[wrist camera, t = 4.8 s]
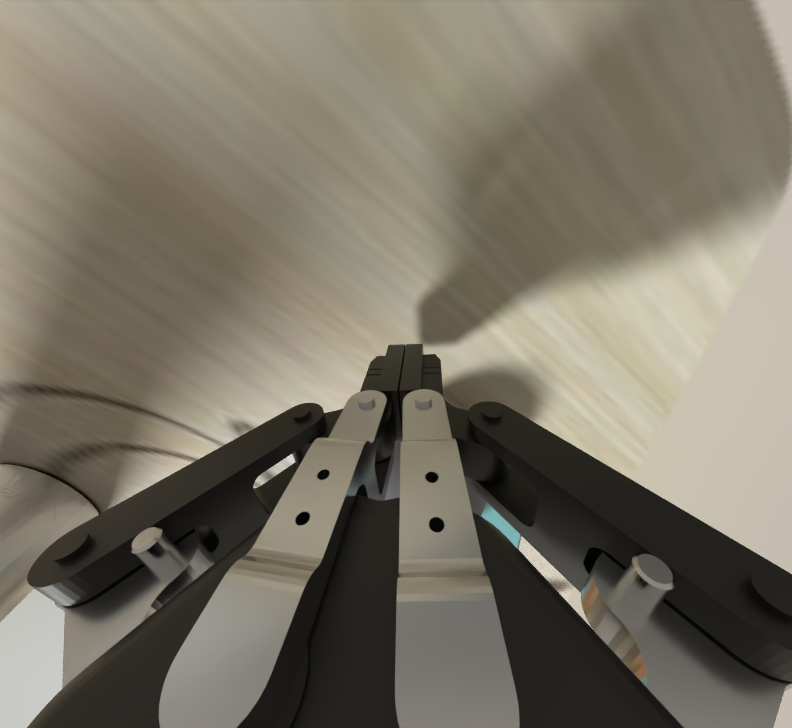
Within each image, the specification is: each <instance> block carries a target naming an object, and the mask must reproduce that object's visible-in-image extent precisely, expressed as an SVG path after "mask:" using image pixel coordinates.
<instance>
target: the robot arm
mask: <svg viewBox="0 0 792 728" xmlns="http://www.w3.org/2000/svg"><path fill="white" fill-rule="evenodd" d="M395 441H401V450H400V497H399V498H394V499H389V500H385V497H386V492H387V488H388V483H389V479H390V475H391V470H392V466H393V461H394V448H395ZM290 454H293V456H294V459H295V463H294V464H292V465H291V466H289V467H288V468H287V469H285V470H284V471H282V472H281V473H279V474H278V475H276V476H275V477H273V478H272V479H271V480H269V481H268V482H266V483H265V484H263V485H262V486H260V487H258V488H254V489H253V484H254V482H255V480H256V478H257V477H258V476H259V475H260V474H262V473H263V472H265V471H266V470H268V469H269V468H271V467H272V466H274V465H275V464H277V463H278V462H280V461H281V460H283V459H284V458H286V457H287V456H289V455H290ZM464 476H465V477H466V480H467V482H468V484H469V485H470V486H471V487H472V488H473V489H474V490H475V491H476V492H477V493H478V494H479V495H480V496H481V497H482V498H483V499H484V500H485V501H486V502H487V503H488V504H489V505H490V506H491V507H492V508H493V509H494V510H495V511H496V512H497V513H499V514H500V515H501V516H502V517H503V518H504V519H505V520H506V521H507V522H508V523H509V524H510V525H511V526H512V527H513V528H514V529H515V530H516V531H517V532H518V533H519V534H520V535H521V536H522V537H523V538H524V539H526V540H527V541H528V542H529V543H530V544H531V545H532V546H533V547H534V548H535V549H536V550H537V551H538V552H539V553H540V554H541V555H542V556H543V557H544V558H545V559H546V560H547V561H548V562H549V563H550V564H551V565H553V566H554V567H555V568H556V569H557V570H558V571H559V572H560V573H561V574H562V575H563V576H564V577H565V578H566V579H567V580H568V581H569V582H570V583H571V584H572V585H573V586H574V587H575V588H576V589H578V590H579V591H580V592H581V602H582V607H583V611H584V613H585V615H586V618H587V620H588V622H589V624H590V625H591V627H592V628H593V629H592V628H591V627H590V626H589V625H588V624H587V623H586V622H585V621H584V620H583V619H582V617H581V616H579V614H578V613H577V612H576V611H575V610H574V609H573V608H572V607H571V606H570V605H569V604H568V602H567V601H566V600H565V599H564V598H563V597H562V596H561V595H560V594H559V593H558V592H557V591H556V590H555V588H554V587H553V586H552V585H551V584H550V583H549V582H548V581H547V580H546V579H545V578H544V577H543V576H542V575H541V573H540V572H539V571H538V570H537V569H536V568H535V567H534V566H533V565H532V564H531V563H530V562H529V561H528V559H527V558H526V557H525V556H524V555H523V554H522V553H521V552H520V551H519V550H518V549H517V548H516V547H515V546H514V544H513V543H512V542H511V541H510V540H509V539H508V538H507V537H506V536H505V535H504V534H503V533H502V532H501V531H500V530H499V529H497V528H496V527H495V526H494V525H493V524H491V523H490V522H489V521H487V520H486V519H484V518H483V517H481V516H479V515H477V514H475V513H473V512H472V509H471V505H470V500H469V496H468V491H467V487H466V482H465V478H464ZM34 588H35V589H36V590H38V591H39V592H41V593H42V594H44V595H45V596H47V597H48V598H50V599H51V600H53V601H54V602H55V605H56V606H57V607H59V608H60V609H62V610H63V611H64V612H65V625H64V656H63V657H64V659H63V688H62V690H61V691H60V692H59V693H58V694H57V695H56V696H55V697H54V698H53V699H52V700H51V701H50V702H49V703H48V704H47V705H46V707H44V709H43V710H42V711H41V712H40V713H39V714H38V715H37V716H36V718H35V719H34V720H33V721H32V722H31V724H30V725H29V726H28V727H27V728H773V726H774V723H775V720H776V716H777V713H778V710H779V707H780V703H781V700H782V696H783V693H784V691H786V690H788V689H790V688H792V574H790V573H789V572H787V571H785V570H784V569H782V568H780V567H779V566H777V565H775V564H773V563H772V562H770V561H768V560H767V559H765V558H763V557H762V556H760V555H758V554H756V553H755V552H753V551H751V550H750V549H748V548H746V547H745V546H743V545H741V544H739V543H738V542H736V541H734V540H733V539H731V538H729V537H728V536H726V535H724V534H723V533H721V532H719V531H717V530H716V529H714V528H712V527H711V526H709V525H707V524H706V523H704V522H702V521H701V520H699V519H697V518H695V517H694V516H692V515H690V514H689V513H687V512H685V511H684V510H682V509H680V508H678V507H677V506H675V505H673V504H672V503H670V502H668V501H667V500H665V499H663V498H661V497H660V496H658V495H656V494H655V493H653V492H651V491H650V490H648V489H646V488H644V487H643V486H641V485H639V484H638V483H636V482H634V481H633V480H631V479H629V478H628V477H626V476H624V475H622V474H621V473H619V472H617V471H616V470H614V469H612V468H611V467H609V466H607V465H605V464H604V463H602V462H600V461H599V460H597V459H595V458H594V457H592V456H590V455H589V454H587V453H585V452H583V451H582V450H580V449H578V448H577V447H575V446H573V445H572V444H570V443H568V442H566V441H565V440H563V439H561V438H560V437H558V436H556V435H555V434H553V433H551V432H549V431H548V430H546V429H544V428H543V427H541V426H539V425H538V424H536V423H534V422H533V421H531V420H529V419H527V418H526V417H524V416H522V415H521V414H519V413H517V412H516V411H514V410H512V409H510V408H509V407H507V406H505V405H503V404H500V403H497V402H480V403H477V404H475V405H473V406H472V407H471V408H470V409H469V411H467V410H462V409H459V408H456V407H453V406H451V405H450V404H448V403H447V402H446V401H445V399H444V397H443V388H442V375H441V361H440V359H439V358H438V357H437V356H436V355H435V354H429V355H423V344H406V345H389V346H388V349H387V353H386V356H377V357H376V358H375V359H374V360H373V361H371V363H370V365H369V368H368V371H367V374H366V377H365V379H364V382H363V385H362V388H361V391H360V392H358V393H356V394H354V395H353V396H351V397H350V398H349V400H348V401H347V403H346V405H345V407H344V408H343V409H341V410H337V411H332V412H328V413H324V411H323V408H322V407H321V406H320V405H318V404H315V403H304V404H300V405H297V406H295V407H293V408H291V409H289V410H287V411H285V412H284V413H282V414H280V415H278V416H276V417H275V418H273V419H271V420H269V421H267V422H265V423H264V424H262V425H260V426H258V427H256V428H255V429H253V430H251V431H249V432H247V433H246V434H244V435H242V436H240V437H238V438H237V439H235V440H233V441H231V442H229V443H228V444H226V445H224V446H222V447H220V448H219V449H217V450H215V451H213V452H211V453H210V454H208V455H206V456H204V457H202V458H200V459H199V460H197V461H195V462H193V463H191V464H190V465H188V466H186V467H184V468H182V469H181V470H179V471H177V472H175V473H173V474H172V475H170V476H168V477H166V478H164V479H163V480H161V481H159V482H157V483H155V484H154V485H152V486H150V487H148V488H146V489H145V490H143V491H141V492H139V493H137V494H135V495H134V496H132V497H130V498H128V499H126V500H125V501H123V502H121V503H119V504H117V505H116V506H114V507H112V508H110V509H108V510H107V511H105V512H103V513H101V514H98V512H97V510H96V509H95V508H94V506H93V505H92V504H91V503H90V502H89V501H88V500H87V499H86V498H84V497H83V496H82V495H81V494H80V493H78V492H77V491H75V490H74V489H72V488H71V487H69V486H67V485H66V484H64V483H62V482H61V481H59V480H57V479H54V478H52V477H50V476H48V475H46V474H43V473H41V472H38V471H35V470H32V469H29V468H25V467H21V466H16V465H10V464H0V622H1V621H2V620H3V619H4V618H5V617H6V616H7V615H8V614H9V613H10V612H11V611H12V610H13V609H14V608H15V607H16V606H17V605H18V604H19V603H20V602H21V601H22V600H23V599H24V598H25V597H26V596H27V595H28V594H29V593H30V592H31V591H32V590H33V589H34Z"/></svg>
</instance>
